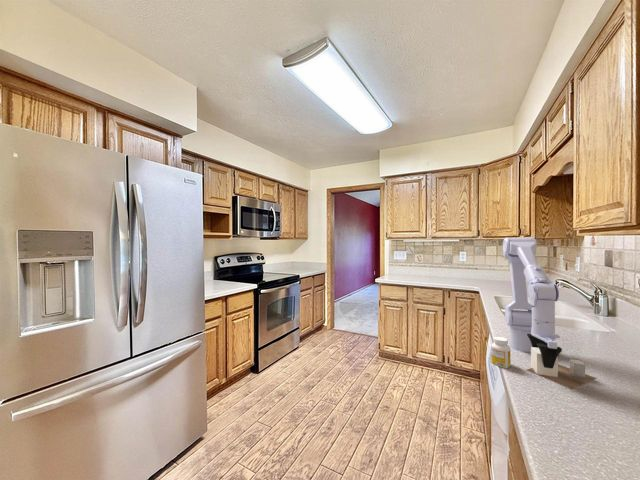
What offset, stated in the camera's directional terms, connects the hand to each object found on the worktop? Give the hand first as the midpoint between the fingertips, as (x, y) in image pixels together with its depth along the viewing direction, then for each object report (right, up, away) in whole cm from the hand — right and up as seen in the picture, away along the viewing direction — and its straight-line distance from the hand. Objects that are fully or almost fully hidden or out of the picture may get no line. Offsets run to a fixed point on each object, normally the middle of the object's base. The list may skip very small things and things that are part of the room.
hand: (543, 362), depth 86 cm
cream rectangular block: (0, -3, 0) cm, 3 cm away
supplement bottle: (-10, -4, +6) cm, 12 cm away
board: (+4, -4, -2) cm, 6 cm away
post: (+8, -3, -3) cm, 9 cm away
